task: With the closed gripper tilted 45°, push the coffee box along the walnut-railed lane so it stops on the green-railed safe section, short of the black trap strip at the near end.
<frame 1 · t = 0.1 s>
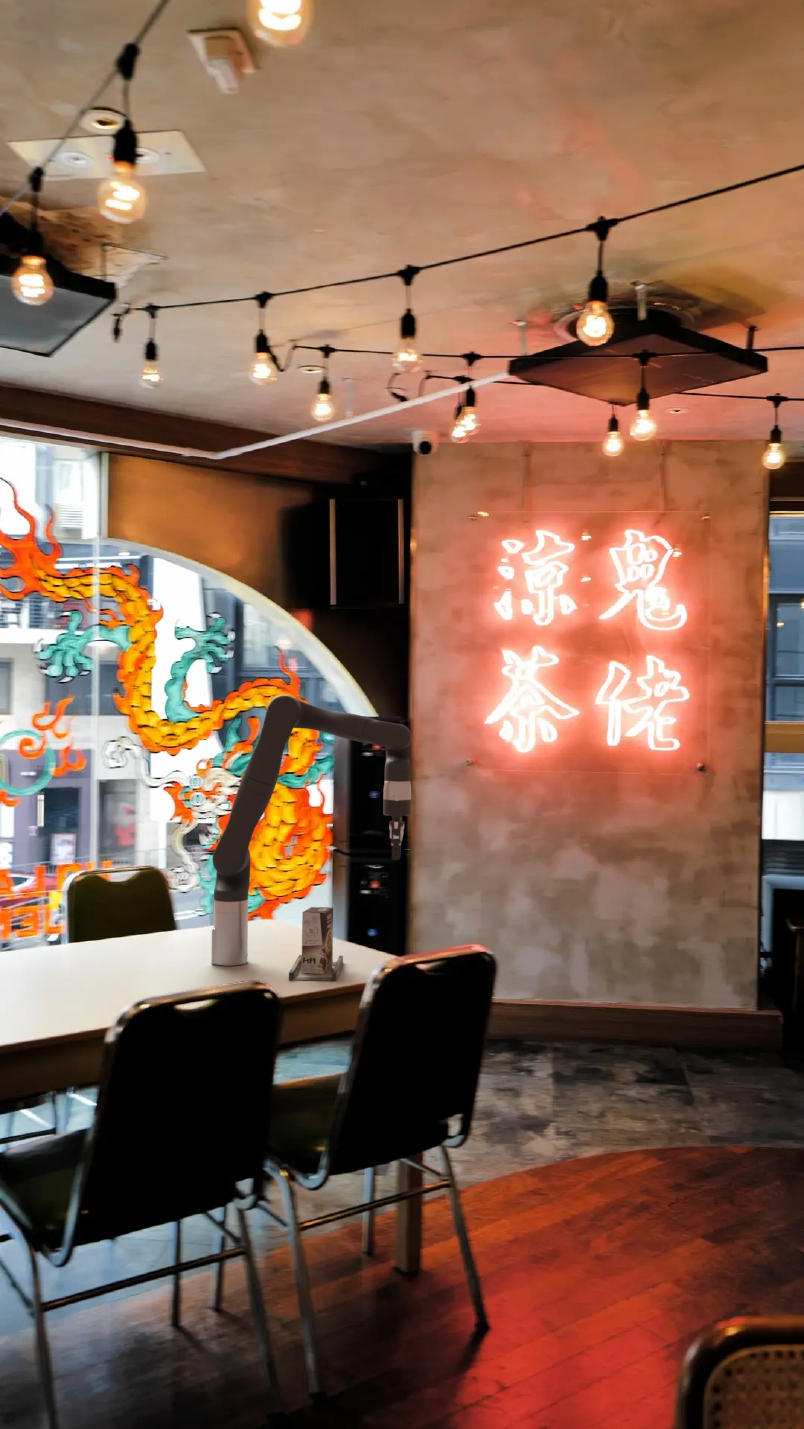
hand: (396, 857, 306), 29 cm above the table, tool pointing down, fingers open, 8 cm apart
lane frame: (316, 971, 298), on the table
coffee box: (317, 970, 299), on the table
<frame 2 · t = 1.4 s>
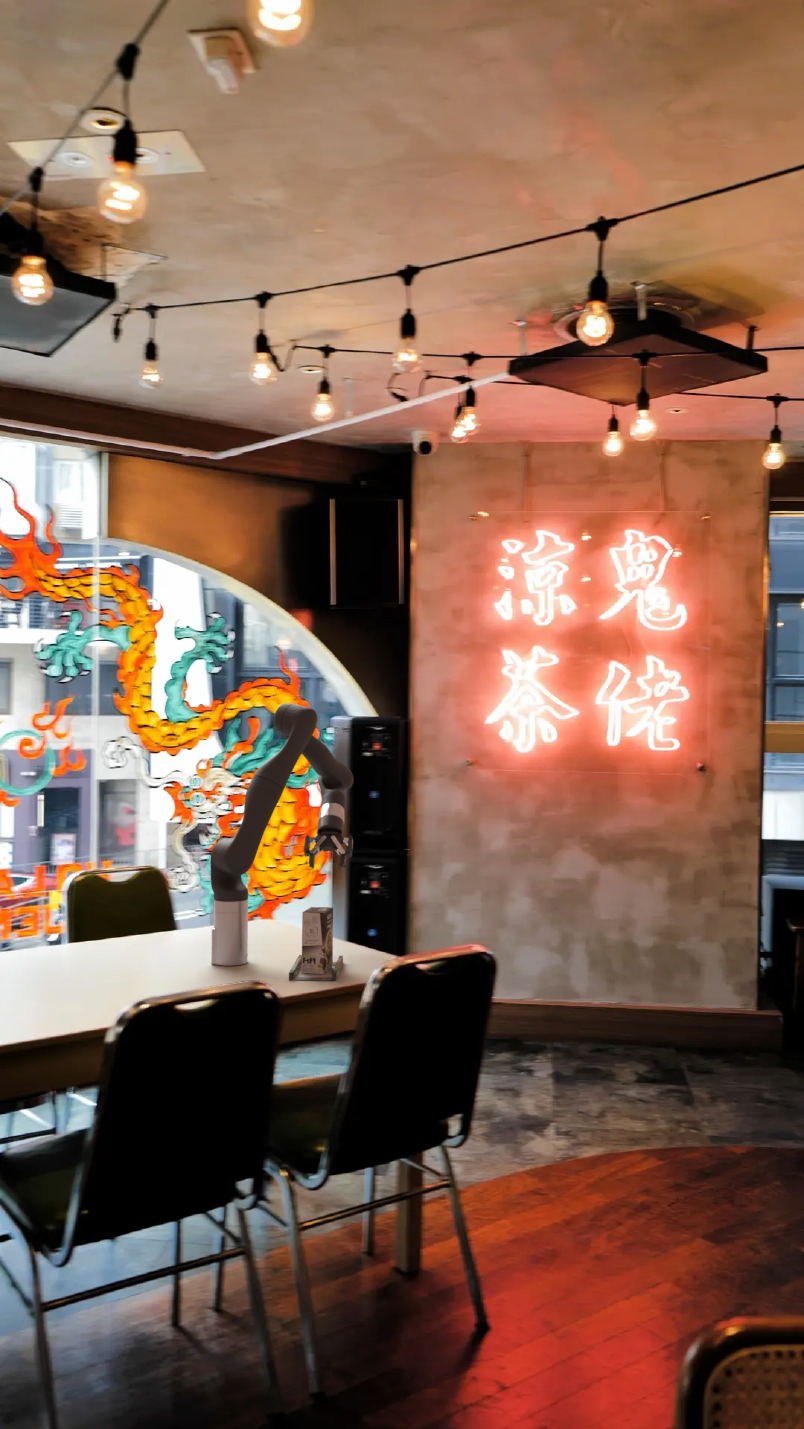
hand: (326, 866, 320), 25 cm above the table, tool tilted 45°, fingers open, 7 cm apart
nothing on the table moved.
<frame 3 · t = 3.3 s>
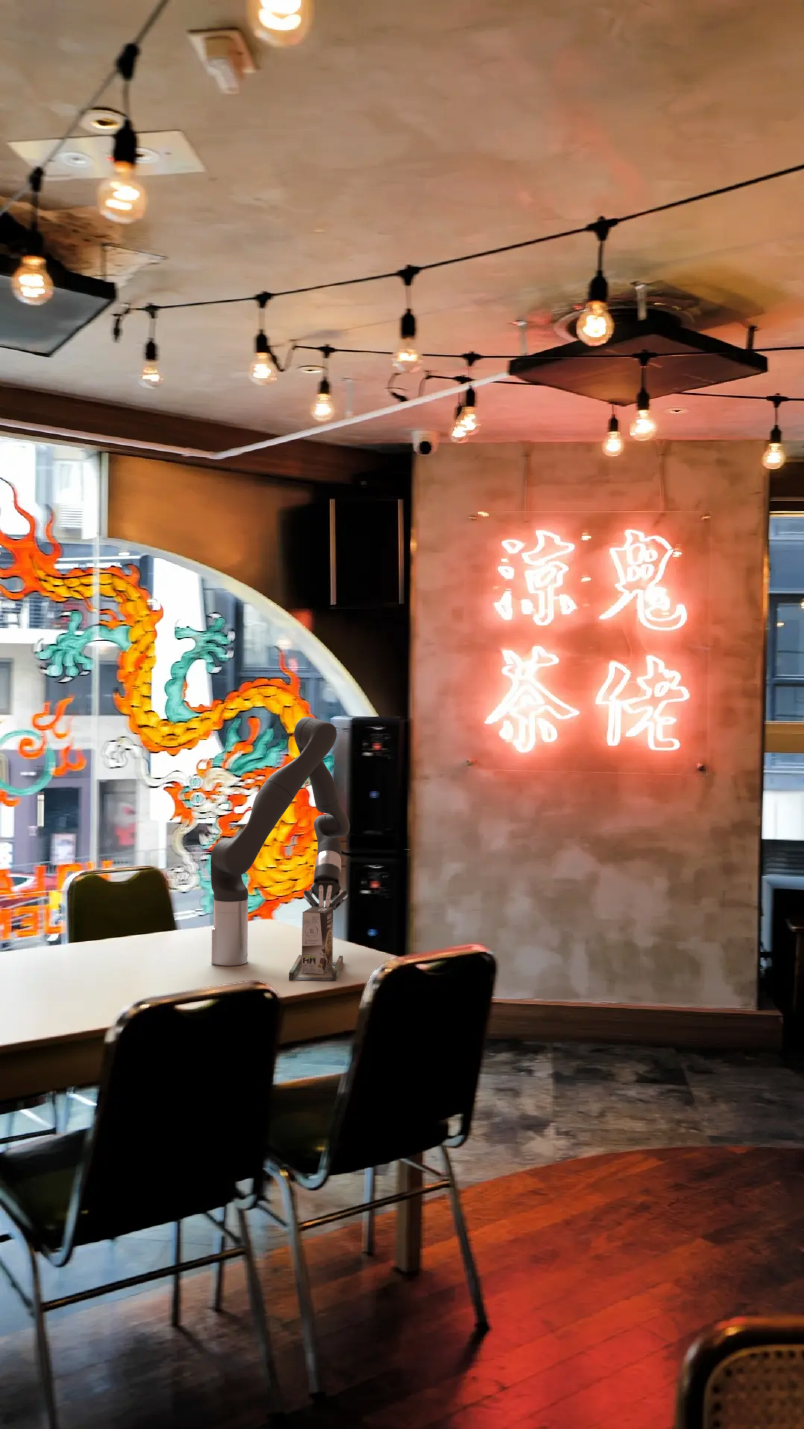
hand: (323, 920, 313), 11 cm above the table, tool tilted 45°, fingers closed
nothing on the table moved.
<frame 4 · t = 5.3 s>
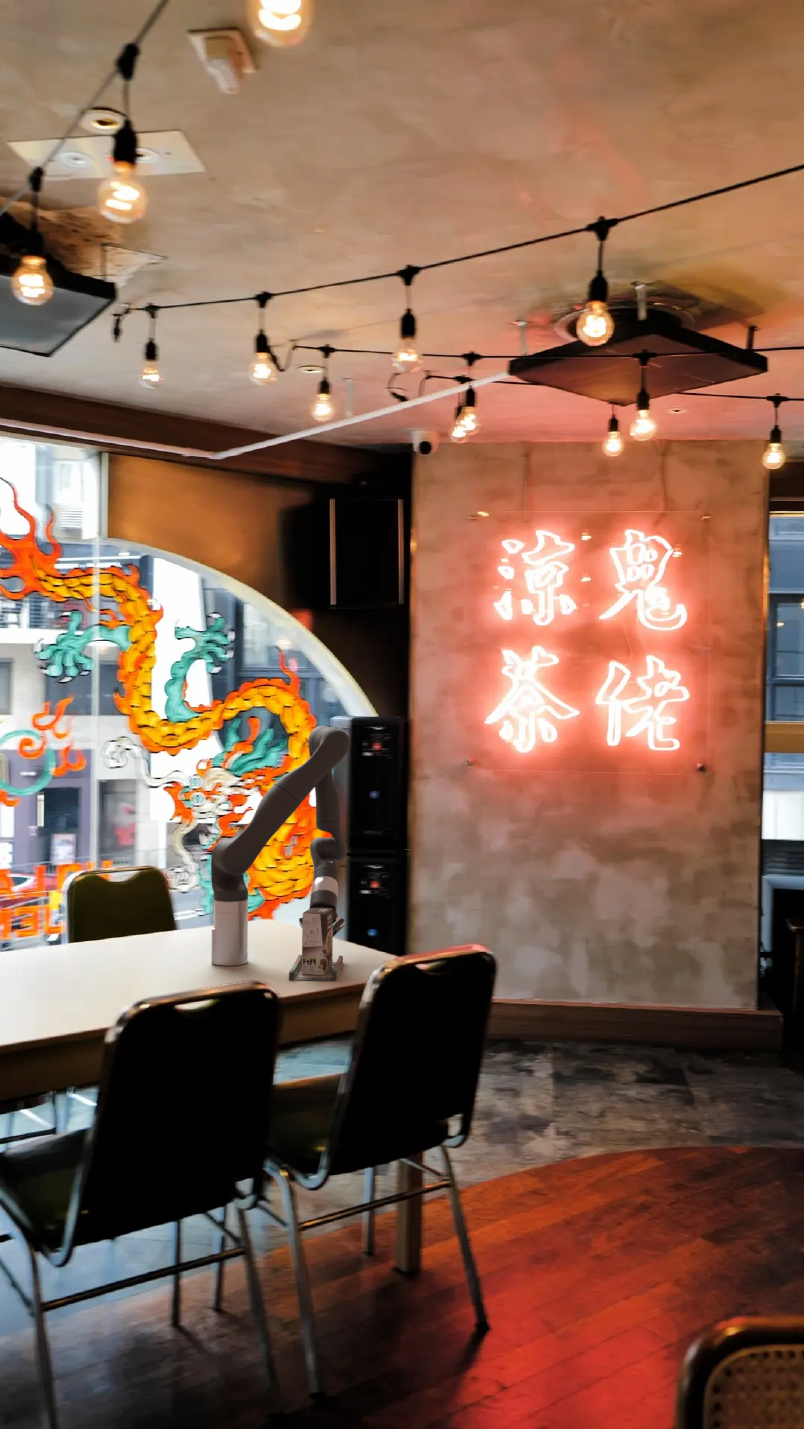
hand: (319, 949, 303), 5 cm above the table, tool tilted 45°, fingers closed
coffee box: (317, 972, 298), on the table, touching gripper
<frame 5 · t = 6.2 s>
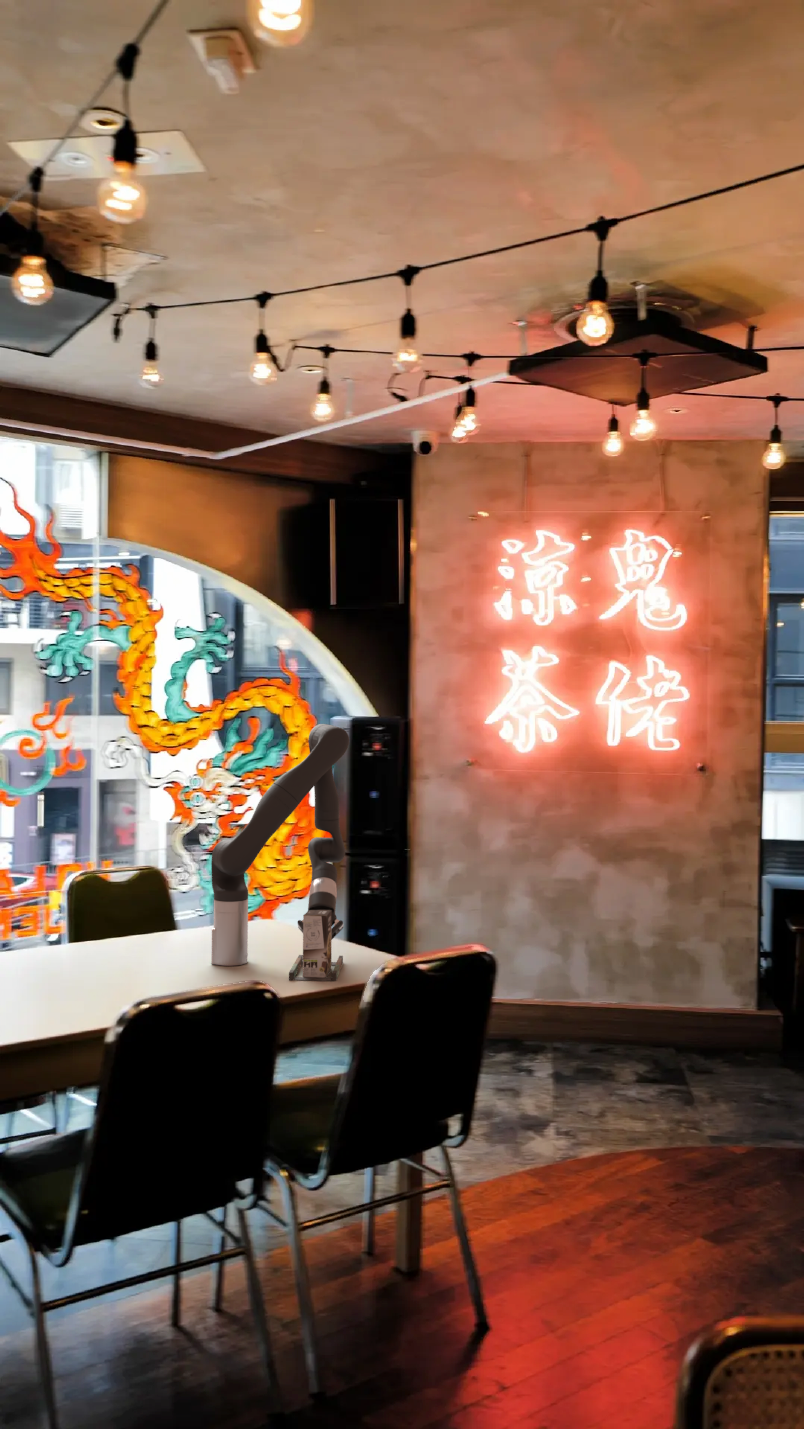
hand: (318, 952, 300), 4 cm above the table, tool tilted 45°, fingers closed
coffee box: (317, 974, 295), on the table, touching gripper, lane frame
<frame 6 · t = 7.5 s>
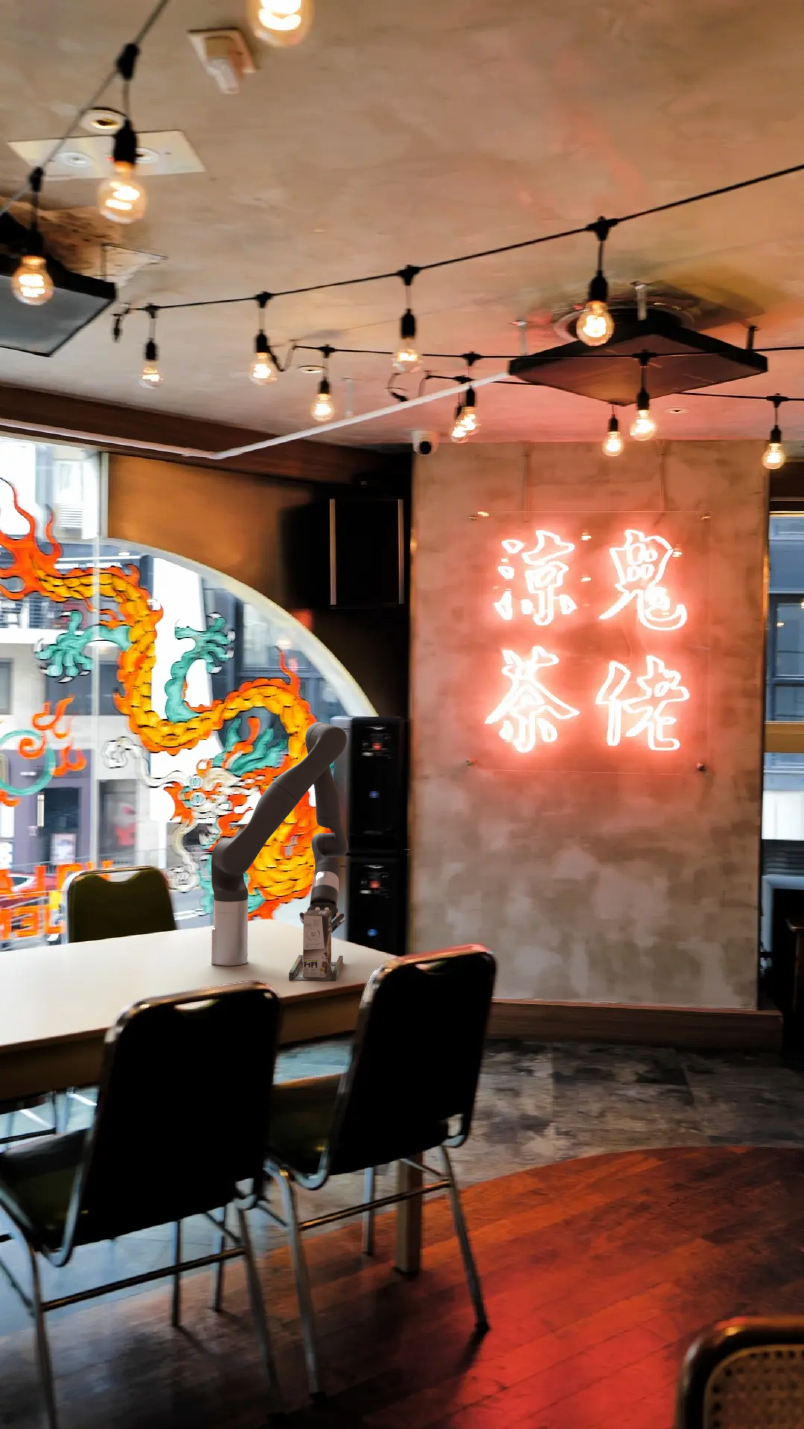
hand: (319, 944, 303), 6 cm above the table, tool tilted 45°, fingers closed
coffee box: (317, 974, 295), on the table
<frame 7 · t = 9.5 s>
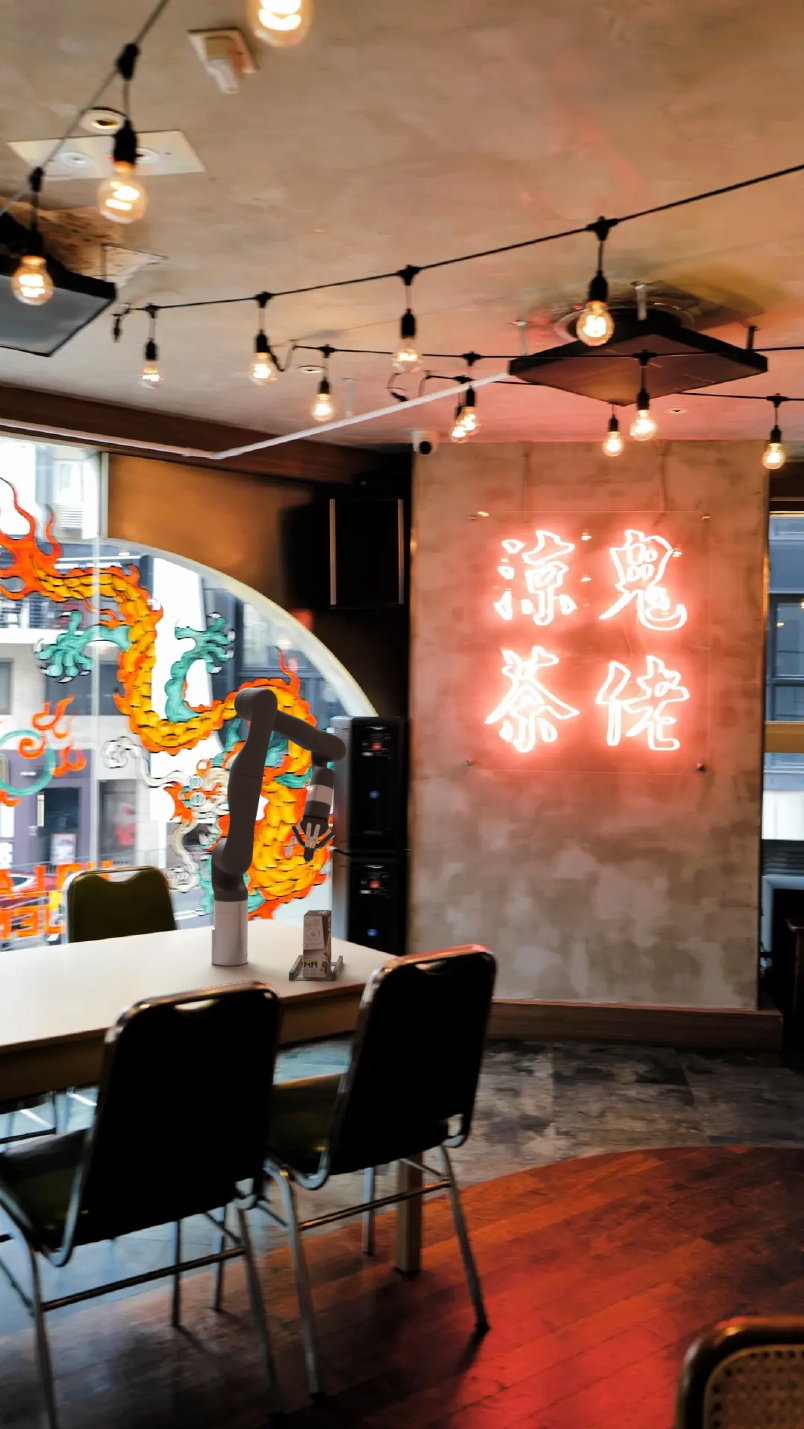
hand: (307, 861, 320), 26 cm above the table, tool tilted 25°, fingers closed
nothing on the table moved.
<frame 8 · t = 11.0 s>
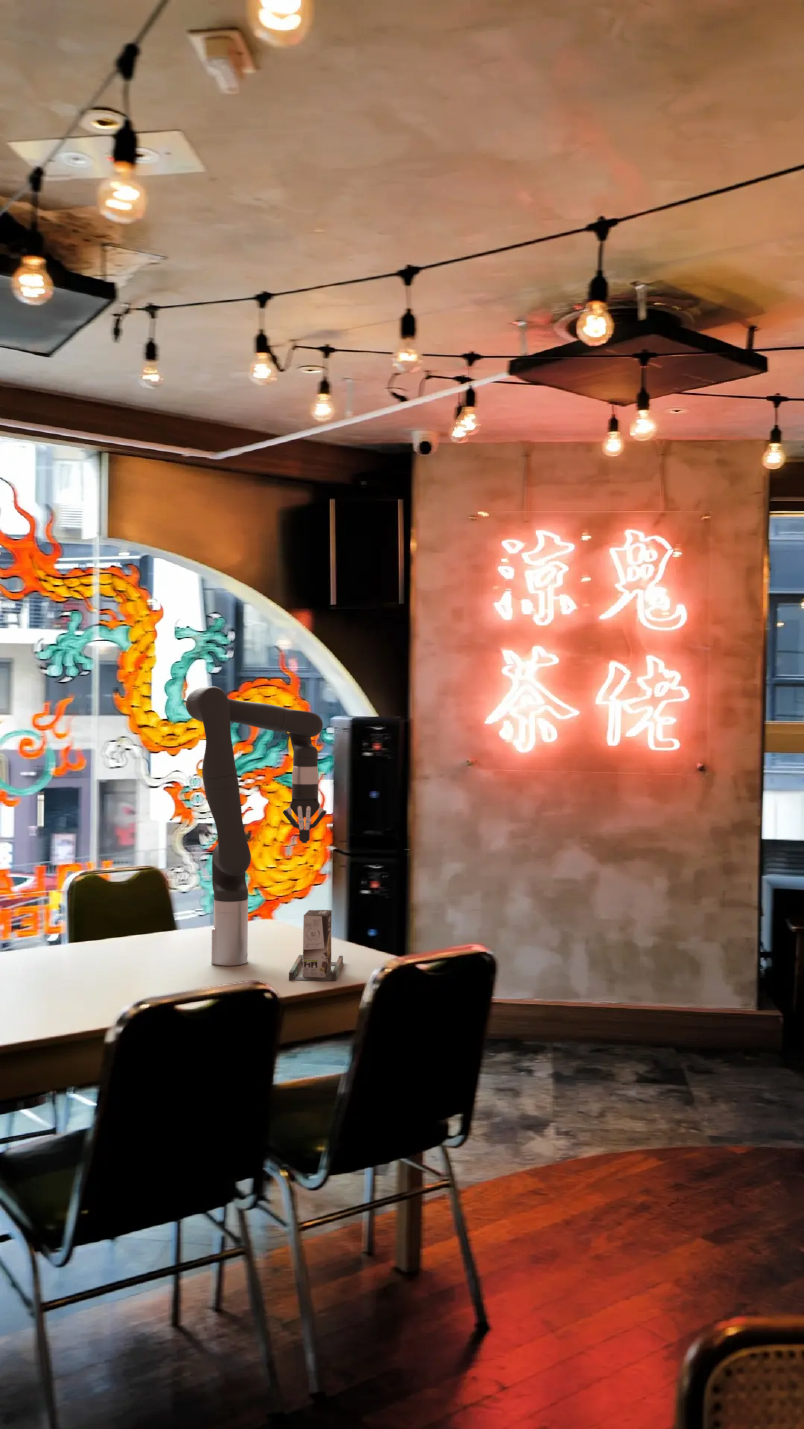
hand: (304, 842, 322), 31 cm above the table, tool pointing down, fingers closed
nothing on the table moved.
at the end: coffee box inside the target area (1.3 cm from its centre), on the table; coffee box tilted 0°; coffee box moved 4.4 cm from its start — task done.
